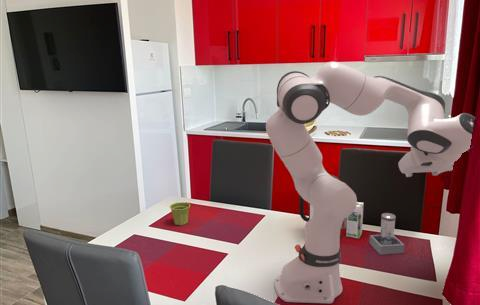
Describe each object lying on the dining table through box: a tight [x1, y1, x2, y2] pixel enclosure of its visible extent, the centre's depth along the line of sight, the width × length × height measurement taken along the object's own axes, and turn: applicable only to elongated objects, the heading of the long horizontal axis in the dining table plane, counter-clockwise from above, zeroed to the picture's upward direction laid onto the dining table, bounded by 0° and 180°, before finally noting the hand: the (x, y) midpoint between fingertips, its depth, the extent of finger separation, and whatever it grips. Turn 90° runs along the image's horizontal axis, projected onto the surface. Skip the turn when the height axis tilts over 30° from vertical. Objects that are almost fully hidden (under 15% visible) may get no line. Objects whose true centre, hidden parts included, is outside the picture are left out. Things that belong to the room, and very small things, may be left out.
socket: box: [368, 234, 406, 256], centre depth 151 cm, size 10×10×4 cm
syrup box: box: [345, 201, 364, 239], centre depth 162 cm, size 6×6×14 cm
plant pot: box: [169, 201, 191, 226], centre depth 178 cm, size 9×9×9 cm
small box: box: [341, 217, 347, 230], centre depth 171 cm, size 5×4×8 cm
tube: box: [379, 212, 397, 245], centre depth 150 cm, size 5×5×14 cm
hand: (420, 174), depth 128 cm, fingers open, 8 cm apart
